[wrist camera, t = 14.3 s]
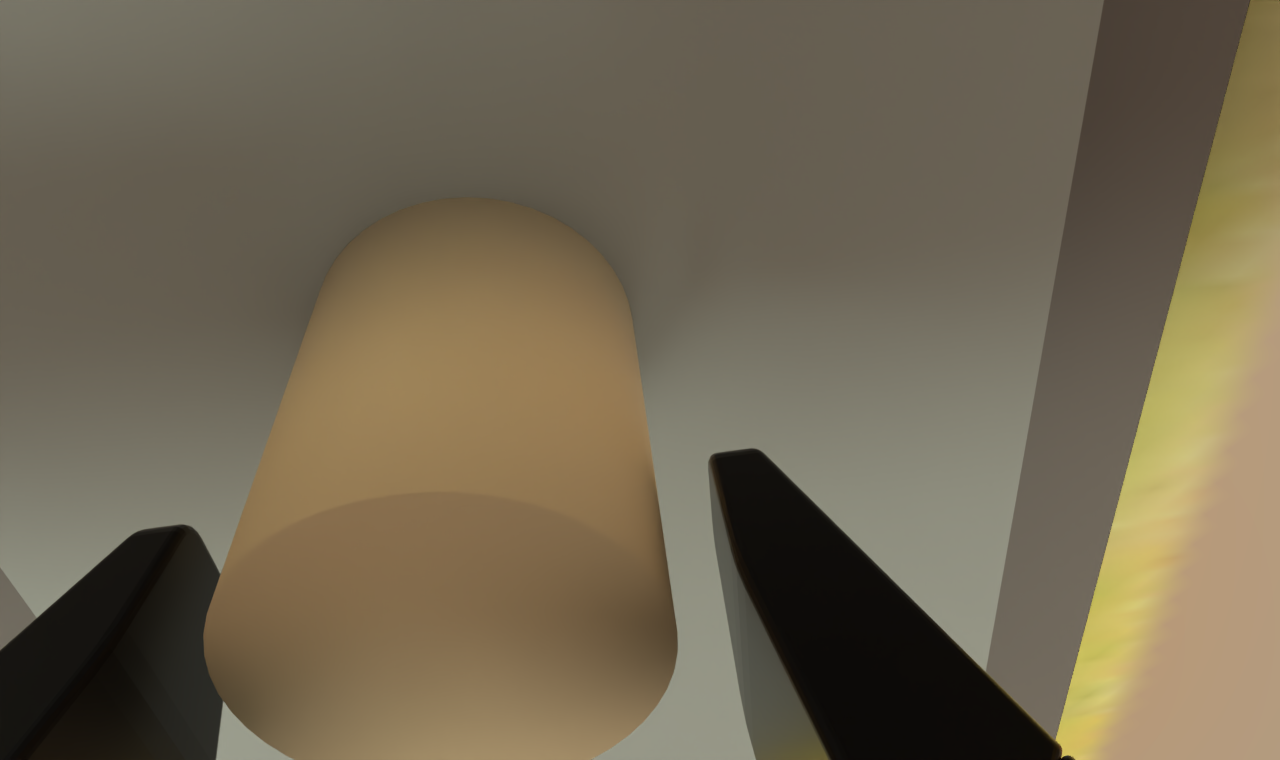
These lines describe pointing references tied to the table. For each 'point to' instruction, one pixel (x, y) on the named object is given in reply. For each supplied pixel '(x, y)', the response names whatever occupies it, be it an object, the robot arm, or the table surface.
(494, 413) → the toolbox lid
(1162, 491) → the table surface
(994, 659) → the lid mat
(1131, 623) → the table surface
